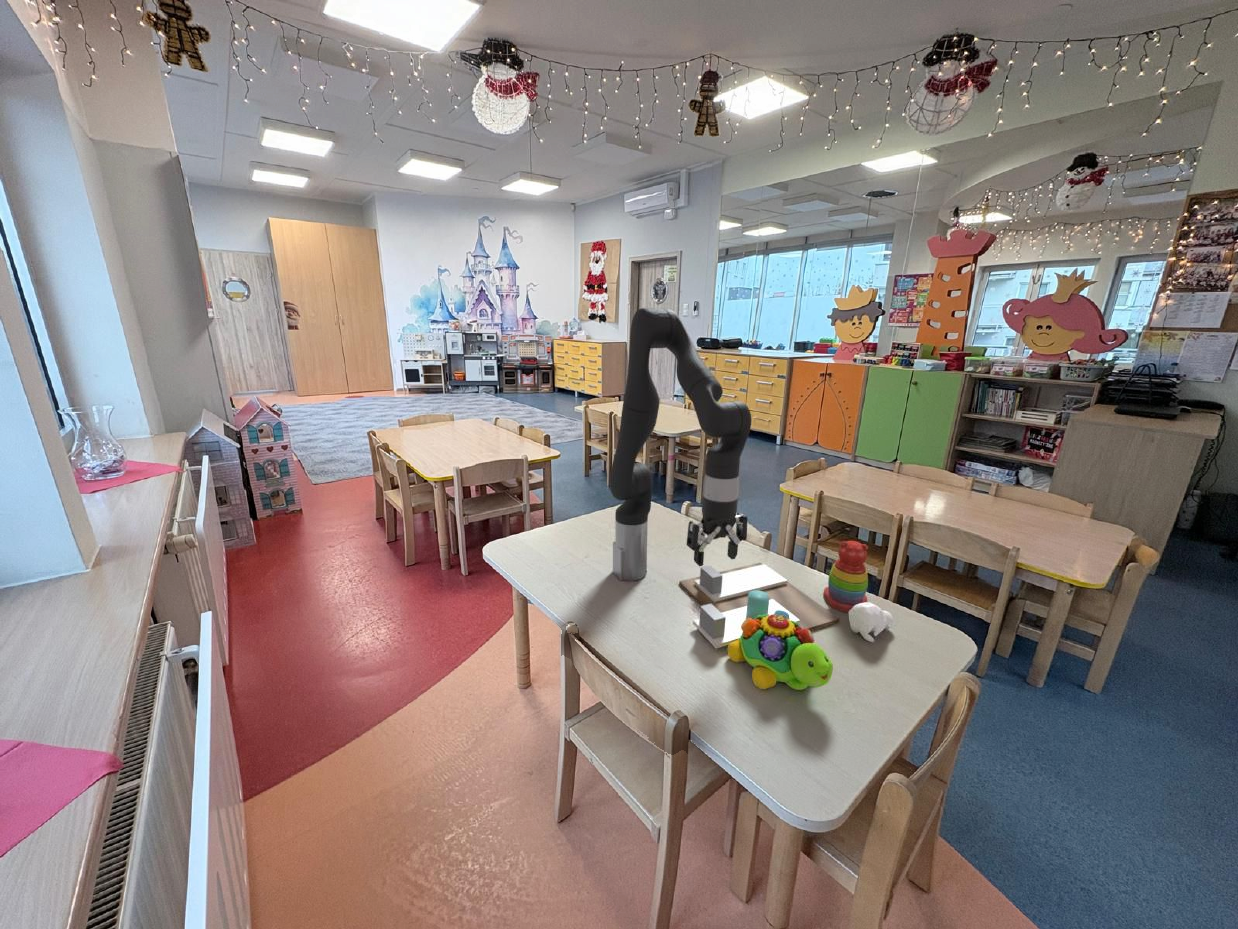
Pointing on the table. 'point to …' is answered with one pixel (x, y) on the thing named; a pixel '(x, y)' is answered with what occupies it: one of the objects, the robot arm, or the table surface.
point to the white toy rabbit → (869, 619)
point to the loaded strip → (728, 623)
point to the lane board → (784, 594)
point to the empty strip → (737, 581)
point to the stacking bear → (848, 577)
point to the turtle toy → (781, 652)
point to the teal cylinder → (757, 604)
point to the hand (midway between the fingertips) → (715, 561)
